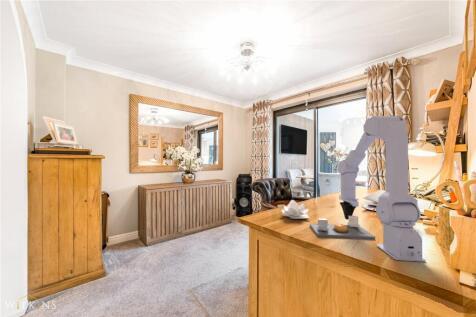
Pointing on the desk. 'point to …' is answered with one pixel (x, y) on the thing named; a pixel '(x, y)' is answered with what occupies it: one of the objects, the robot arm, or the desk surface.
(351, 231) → the panel
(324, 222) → the grey slider knob
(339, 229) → the push button
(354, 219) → the toggle lever
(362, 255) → the desk surface
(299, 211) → the lotus flower
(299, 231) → the desk surface
